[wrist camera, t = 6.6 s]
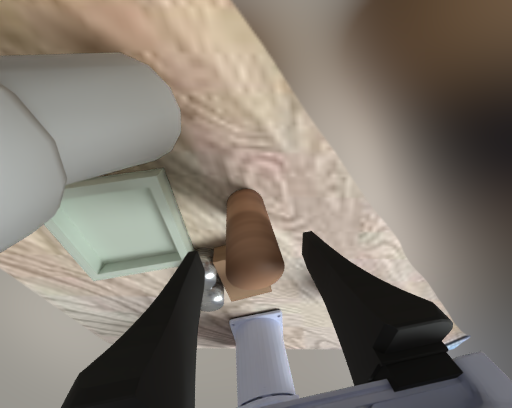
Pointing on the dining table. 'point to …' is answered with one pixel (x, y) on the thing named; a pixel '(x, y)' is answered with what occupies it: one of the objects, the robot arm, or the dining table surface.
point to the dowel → (251, 243)
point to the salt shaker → (74, 128)
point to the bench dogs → (211, 283)
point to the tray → (121, 224)
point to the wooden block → (232, 291)
